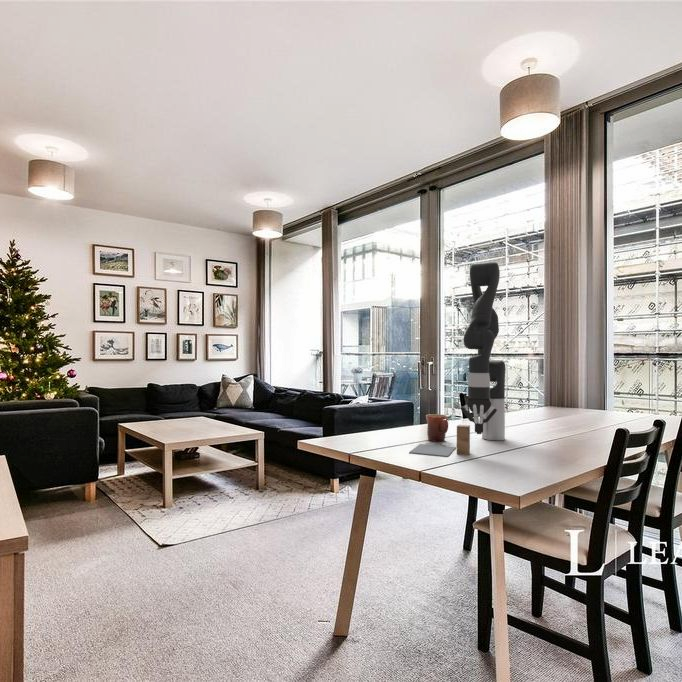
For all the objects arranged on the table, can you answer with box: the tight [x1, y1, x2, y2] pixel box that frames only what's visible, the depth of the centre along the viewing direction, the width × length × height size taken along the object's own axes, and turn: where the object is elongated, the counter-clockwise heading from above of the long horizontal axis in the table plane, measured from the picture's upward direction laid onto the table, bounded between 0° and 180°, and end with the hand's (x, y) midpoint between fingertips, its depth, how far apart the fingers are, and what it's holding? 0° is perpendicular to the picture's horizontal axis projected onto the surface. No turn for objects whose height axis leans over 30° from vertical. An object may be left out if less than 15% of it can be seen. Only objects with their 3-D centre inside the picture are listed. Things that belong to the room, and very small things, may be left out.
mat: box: [408, 443, 457, 458], centre depth 173 cm, size 16×14×1 cm
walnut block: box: [456, 424, 471, 456], centre depth 169 cm, size 4×4×10 cm
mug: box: [425, 413, 449, 443], centre depth 191 cm, size 12×9×10 cm
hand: (478, 433), depth 167 cm, fingers closed
